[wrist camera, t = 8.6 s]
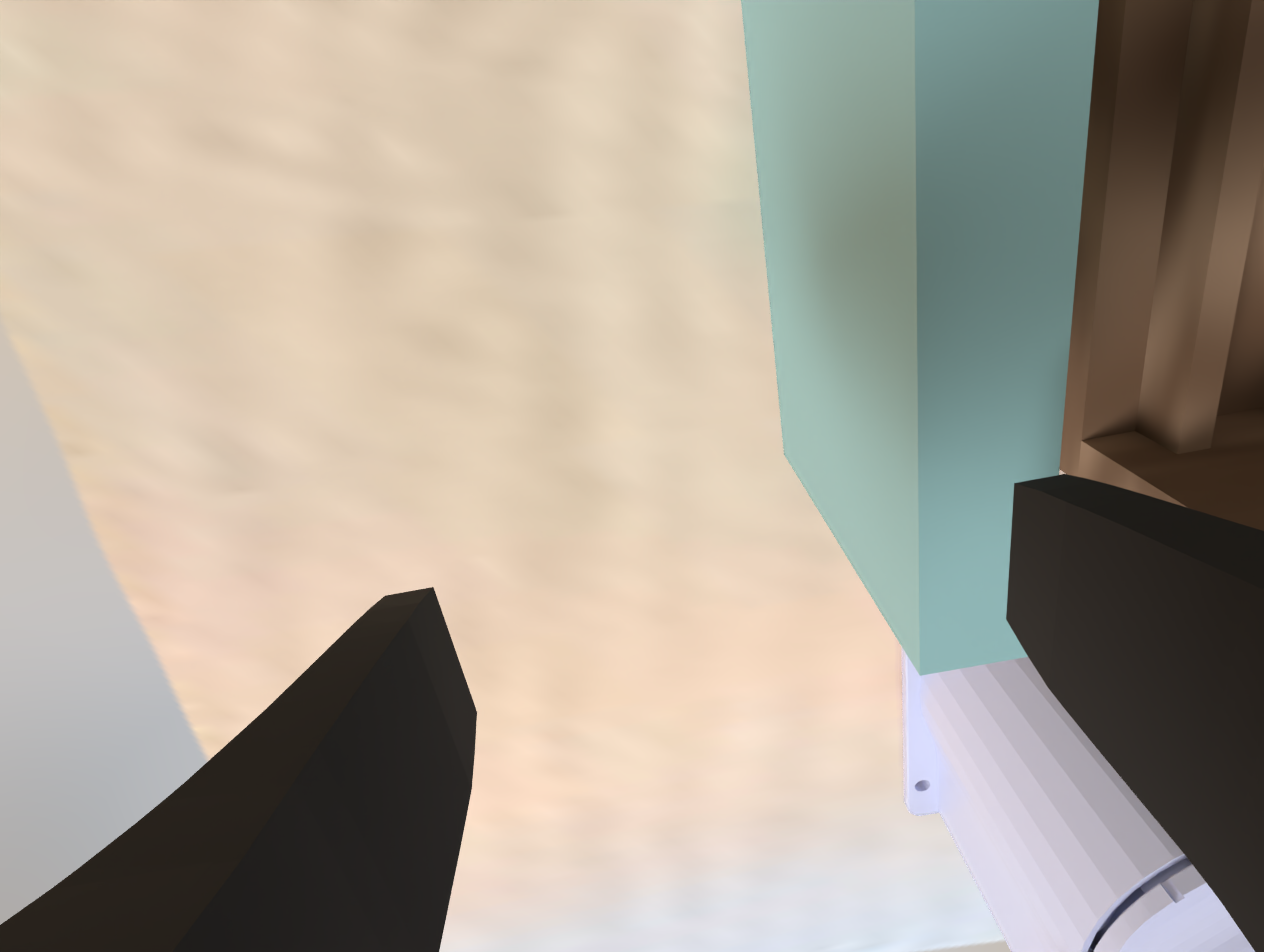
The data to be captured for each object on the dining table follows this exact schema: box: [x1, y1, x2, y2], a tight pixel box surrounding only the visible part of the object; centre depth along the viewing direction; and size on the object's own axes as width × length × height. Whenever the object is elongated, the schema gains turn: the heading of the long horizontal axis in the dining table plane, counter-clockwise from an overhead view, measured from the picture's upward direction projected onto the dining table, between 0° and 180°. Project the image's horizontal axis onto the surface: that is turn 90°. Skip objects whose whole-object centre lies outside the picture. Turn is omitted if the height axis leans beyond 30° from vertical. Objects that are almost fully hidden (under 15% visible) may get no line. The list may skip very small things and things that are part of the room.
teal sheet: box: [741, 0, 1099, 676], centre depth 13 cm, size 12×2×9 cm, turn 10°
